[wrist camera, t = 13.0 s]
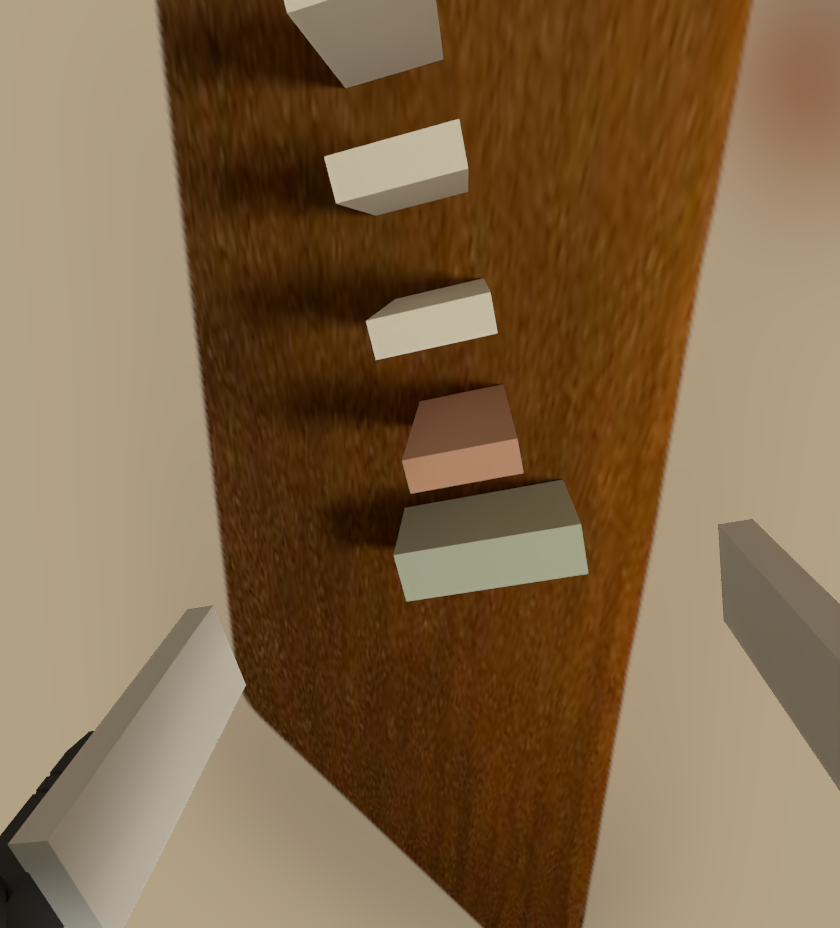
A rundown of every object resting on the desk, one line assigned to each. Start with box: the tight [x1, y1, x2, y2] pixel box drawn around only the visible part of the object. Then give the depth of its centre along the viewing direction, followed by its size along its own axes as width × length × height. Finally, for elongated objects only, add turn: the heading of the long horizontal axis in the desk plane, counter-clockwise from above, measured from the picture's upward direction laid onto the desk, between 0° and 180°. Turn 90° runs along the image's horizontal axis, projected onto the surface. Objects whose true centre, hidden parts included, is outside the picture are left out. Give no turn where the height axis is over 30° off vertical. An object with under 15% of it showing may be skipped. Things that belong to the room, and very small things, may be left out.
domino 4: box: [402, 384, 524, 494], centre depth 29 cm, size 2×5×10 cm, turn 103°
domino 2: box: [324, 119, 468, 216], centre depth 25 cm, size 2×5×10 cm, turn 103°
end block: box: [394, 480, 588, 602], centre depth 34 cm, size 3×10×6 cm, turn 103°
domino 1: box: [284, 0, 443, 88], centre depth 23 cm, size 2×5×10 cm, turn 103°
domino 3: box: [366, 278, 498, 360], centre depth 27 cm, size 2×5×10 cm, turn 103°
